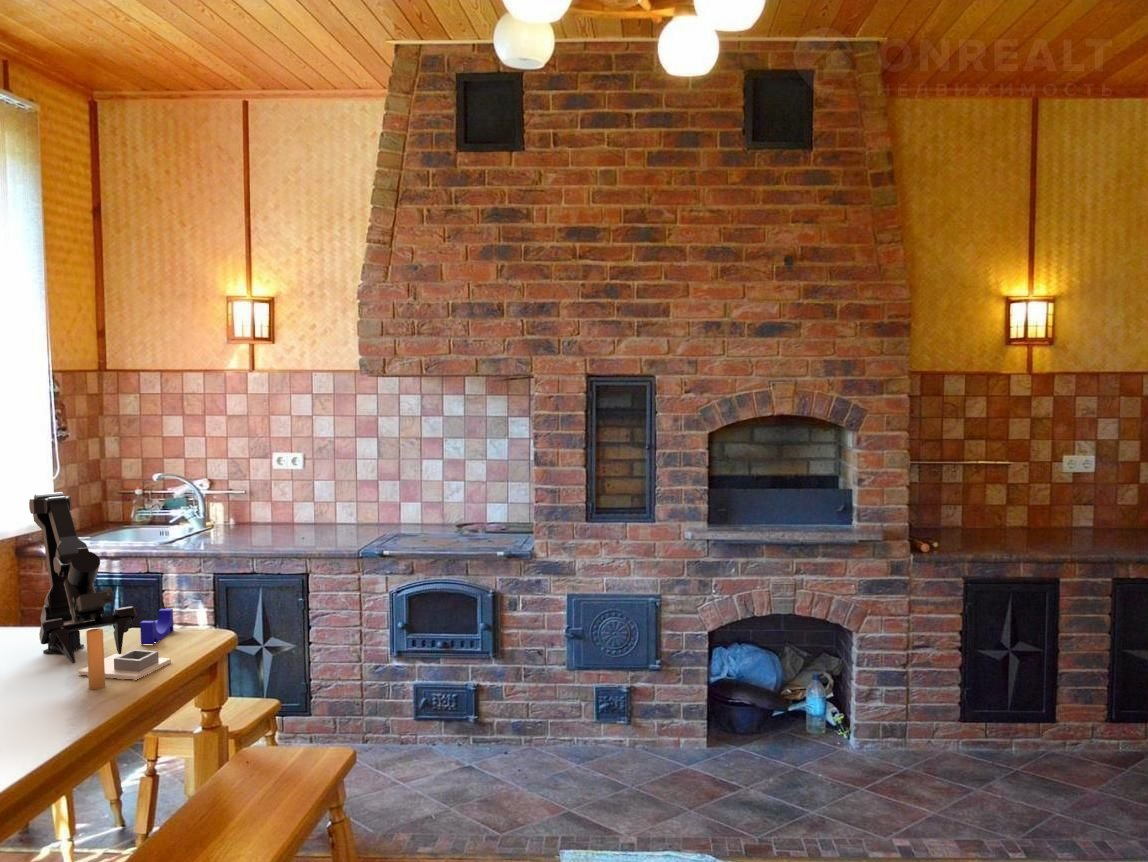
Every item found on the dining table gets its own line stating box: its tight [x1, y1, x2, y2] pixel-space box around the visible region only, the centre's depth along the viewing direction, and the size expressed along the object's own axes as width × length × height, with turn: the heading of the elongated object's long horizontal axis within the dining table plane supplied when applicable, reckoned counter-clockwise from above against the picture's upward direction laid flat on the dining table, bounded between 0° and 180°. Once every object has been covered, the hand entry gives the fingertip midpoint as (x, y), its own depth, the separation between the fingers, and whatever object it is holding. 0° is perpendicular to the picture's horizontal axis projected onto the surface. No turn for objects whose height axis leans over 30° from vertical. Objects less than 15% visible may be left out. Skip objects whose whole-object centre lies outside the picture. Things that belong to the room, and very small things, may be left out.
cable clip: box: [139, 608, 175, 645], centre depth 236 cm, size 12×4×6 cm, turn 1°
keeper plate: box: [77, 648, 172, 681], centre depth 214 cm, size 15×12×4 cm
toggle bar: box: [85, 628, 106, 690], centre depth 202 cm, size 3×3×12 cm
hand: (97, 657), depth 201 cm, fingers open, 9 cm apart
